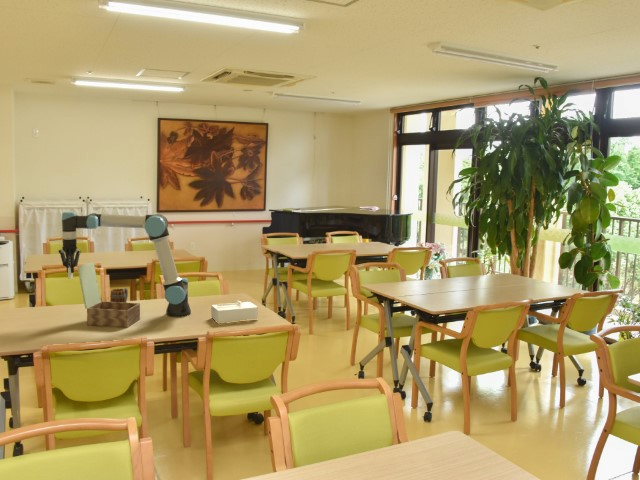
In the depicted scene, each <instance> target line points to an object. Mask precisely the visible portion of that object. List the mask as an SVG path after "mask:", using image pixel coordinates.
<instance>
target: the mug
mask: <svg viewBox="0 0 640 480" xmlns="http://www.w3.org/2000/svg"><path fill="white" fill-rule="evenodd" d="M128 291H129V290H128V288H127V287H122V288H113V289H111V290H110V295H109V297H110V299H109V302H124V303H127V300H128V296H129V292H128Z"/></svg>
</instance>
